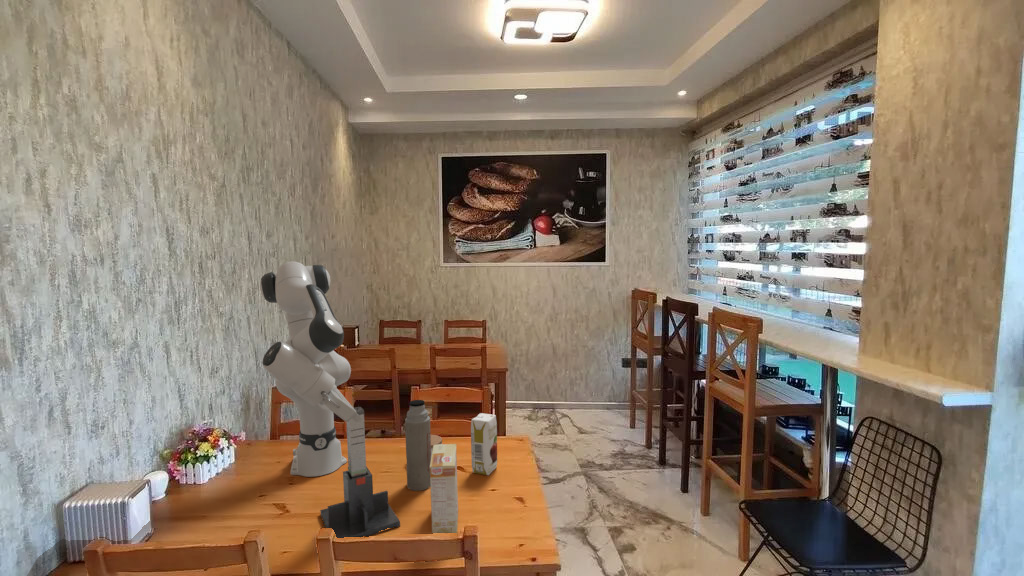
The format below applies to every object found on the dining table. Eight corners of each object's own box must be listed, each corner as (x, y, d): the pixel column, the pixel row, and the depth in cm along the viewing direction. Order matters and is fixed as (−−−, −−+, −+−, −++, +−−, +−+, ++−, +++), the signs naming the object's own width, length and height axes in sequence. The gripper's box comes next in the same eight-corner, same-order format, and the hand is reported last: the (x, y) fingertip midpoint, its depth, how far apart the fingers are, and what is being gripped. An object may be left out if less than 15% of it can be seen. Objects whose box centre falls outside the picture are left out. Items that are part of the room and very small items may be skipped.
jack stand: (320, 515, 143) (318, 468, 142) (381, 498, 152) (380, 454, 151) (332, 547, 127) (330, 495, 126) (400, 526, 136) (398, 477, 135)
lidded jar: (444, 464, 175) (444, 439, 174) (414, 469, 172) (413, 443, 171) (440, 452, 185) (439, 428, 184) (411, 456, 182) (410, 432, 181)
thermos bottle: (435, 480, 163) (433, 398, 161) (426, 491, 156) (424, 406, 153) (413, 478, 165) (410, 397, 163) (403, 489, 157) (400, 404, 155)
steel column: (348, 489, 140) (345, 409, 138) (363, 485, 142) (360, 406, 140) (352, 495, 136) (348, 413, 134) (367, 491, 138) (364, 410, 136)
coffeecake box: (434, 507, 146) (433, 444, 145) (458, 505, 147) (457, 443, 145) (430, 536, 131) (428, 466, 130) (457, 535, 132) (455, 465, 130)
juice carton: (469, 473, 168) (468, 419, 166) (480, 463, 176) (479, 411, 174) (489, 477, 165) (488, 422, 163) (499, 466, 173) (498, 414, 171)
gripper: (334, 388, 124) (375, 418, 129) (320, 371, 141) (356, 398, 147) (316, 408, 122) (358, 438, 128) (304, 388, 139) (341, 415, 145)
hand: (357, 416), depth 137 cm, fingers closed on steel column, 4 cm apart
